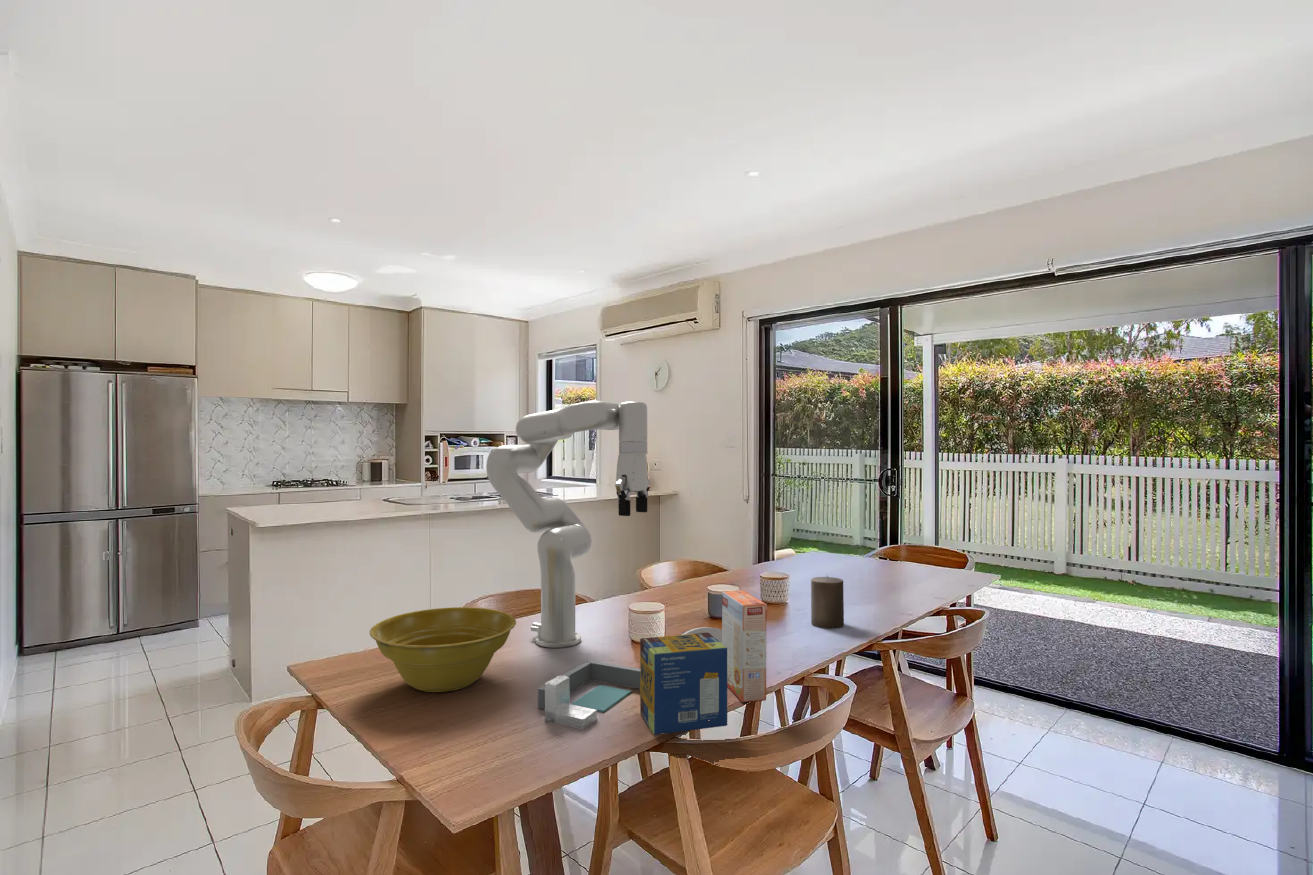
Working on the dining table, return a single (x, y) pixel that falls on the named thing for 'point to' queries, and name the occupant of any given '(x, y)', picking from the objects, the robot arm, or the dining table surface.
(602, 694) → the mat
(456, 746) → the dining table surface
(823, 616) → the pillar candle
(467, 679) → the planter bowl
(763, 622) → the cracker box
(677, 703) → the protein box
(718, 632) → the white black slab
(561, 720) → the grey l-shaped block
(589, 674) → the corner walls
